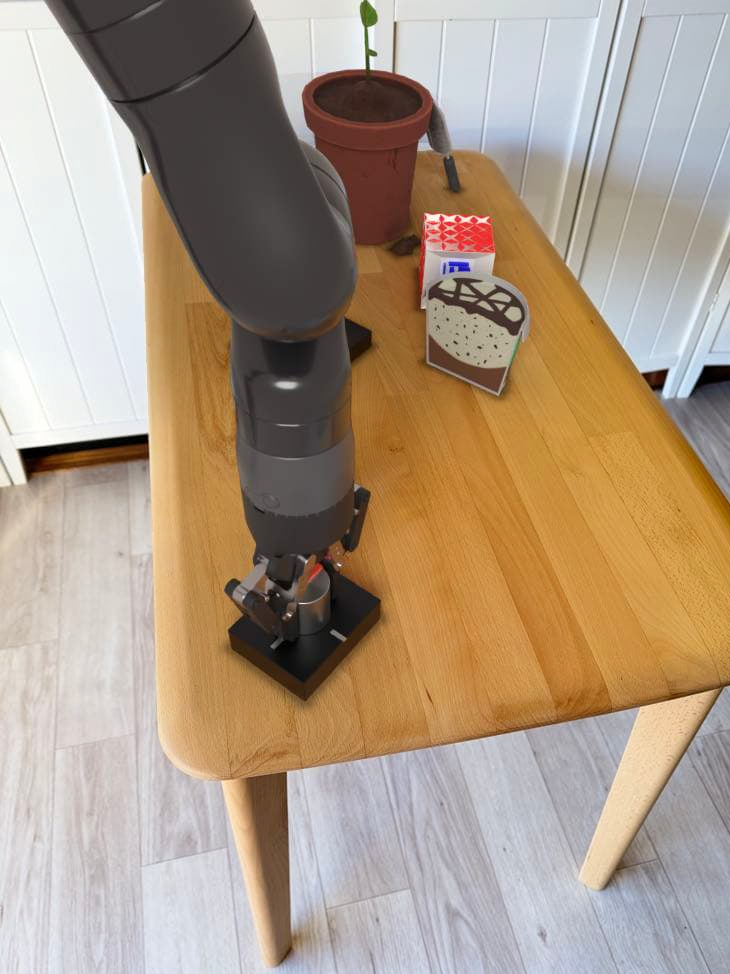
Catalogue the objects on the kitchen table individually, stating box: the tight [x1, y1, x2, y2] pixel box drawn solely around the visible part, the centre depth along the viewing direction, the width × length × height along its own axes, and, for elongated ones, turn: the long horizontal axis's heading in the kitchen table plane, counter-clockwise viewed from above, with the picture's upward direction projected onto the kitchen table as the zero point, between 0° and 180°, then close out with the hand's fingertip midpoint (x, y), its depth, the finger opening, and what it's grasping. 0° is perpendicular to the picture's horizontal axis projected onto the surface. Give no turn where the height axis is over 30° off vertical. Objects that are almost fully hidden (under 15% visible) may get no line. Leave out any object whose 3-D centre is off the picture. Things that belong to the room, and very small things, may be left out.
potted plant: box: [301, 0, 461, 256], centre depth 100 cm, size 18×22×25 cm
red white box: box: [418, 212, 496, 310], centre depth 98 cm, size 8×8×8 cm
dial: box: [279, 563, 330, 635], centre depth 65 cm, size 4×4×5 cm
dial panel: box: [227, 573, 382, 702], centre depth 68 cm, size 10×8×3 cm
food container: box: [421, 271, 531, 397], centre depth 88 cm, size 12×6×10 cm, turn 58°
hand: (305, 612), depth 66 cm, fingers open, 4 cm apart
